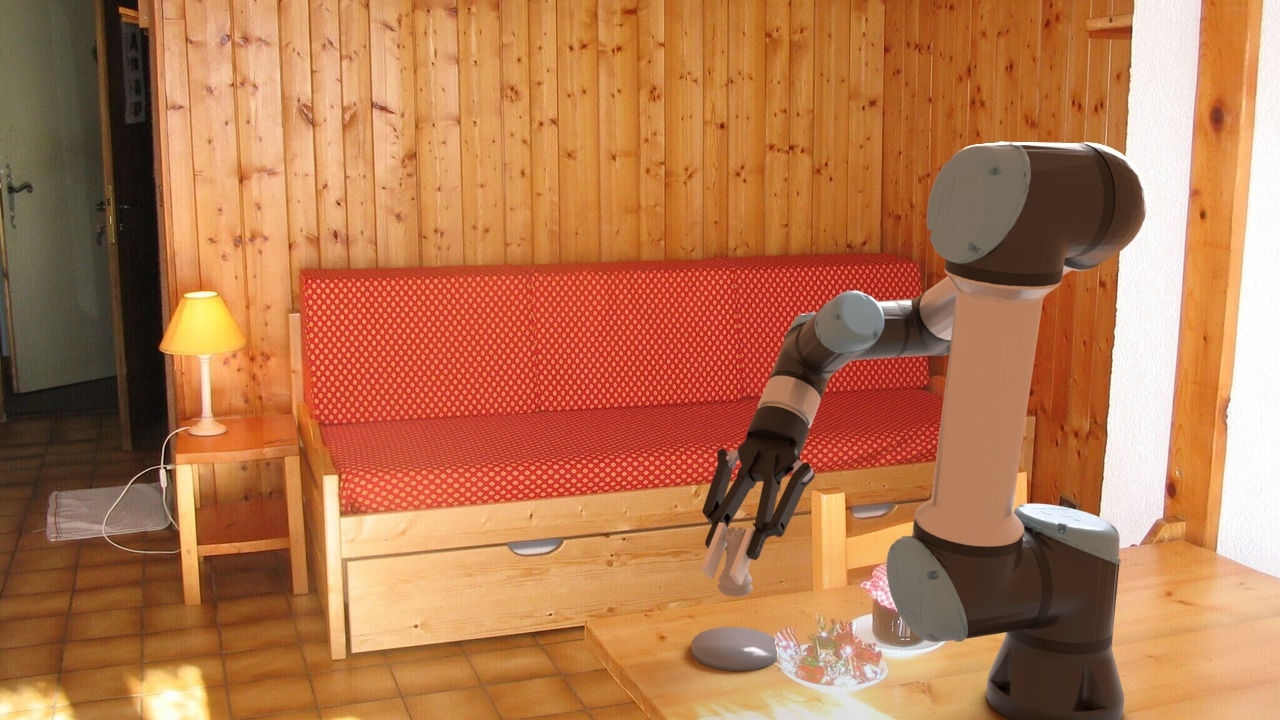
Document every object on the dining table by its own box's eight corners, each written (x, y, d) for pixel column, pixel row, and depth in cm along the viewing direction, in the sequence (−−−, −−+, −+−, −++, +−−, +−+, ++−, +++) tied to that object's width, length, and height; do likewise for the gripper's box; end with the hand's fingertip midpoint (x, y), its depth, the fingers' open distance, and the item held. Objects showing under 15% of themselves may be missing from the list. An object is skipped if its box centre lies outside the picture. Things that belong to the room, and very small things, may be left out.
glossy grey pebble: (792, 647, 163) (793, 638, 163) (754, 678, 154) (754, 669, 154) (717, 629, 169) (717, 620, 169) (675, 658, 160) (675, 649, 160)
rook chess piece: (731, 581, 164) (732, 522, 162) (759, 590, 161) (761, 529, 159) (710, 591, 160) (711, 530, 159) (739, 600, 157) (741, 538, 156)
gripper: (848, 443, 166) (790, 603, 155) (736, 426, 174) (674, 577, 164) (833, 411, 160) (772, 575, 150) (719, 395, 169) (653, 549, 158)
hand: (721, 576), depth 157 cm, fingers closed on rook chess piece, 3 cm apart
